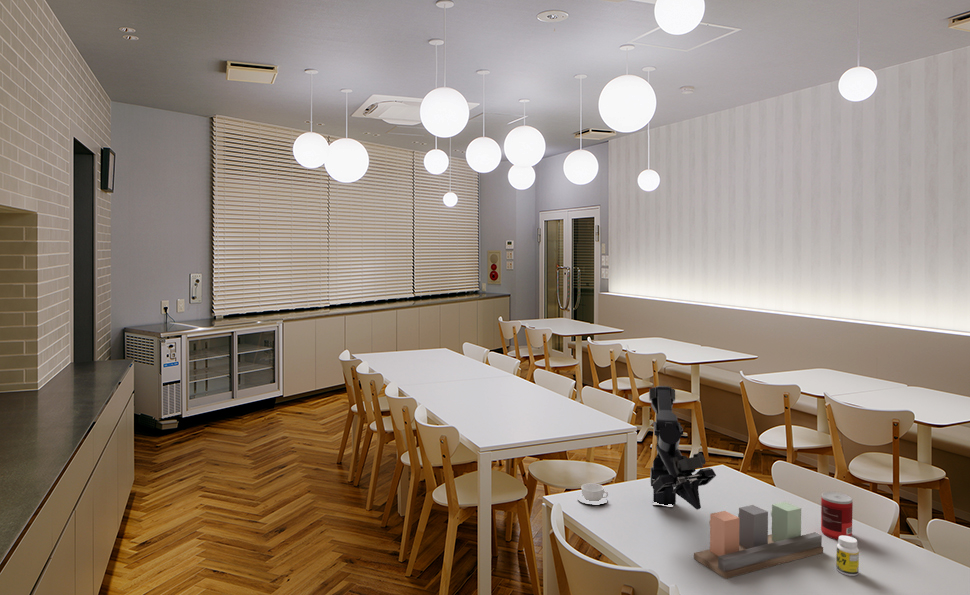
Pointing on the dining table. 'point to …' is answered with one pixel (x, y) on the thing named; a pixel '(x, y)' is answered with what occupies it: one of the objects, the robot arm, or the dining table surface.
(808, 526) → the dining table surface
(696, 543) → the dining table surface
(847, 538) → the supplement bottle
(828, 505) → the canned food
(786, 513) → the sage green block
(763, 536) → the gray rectangular block
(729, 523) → the pink upright block
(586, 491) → the teacup
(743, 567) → the wooden display stand
